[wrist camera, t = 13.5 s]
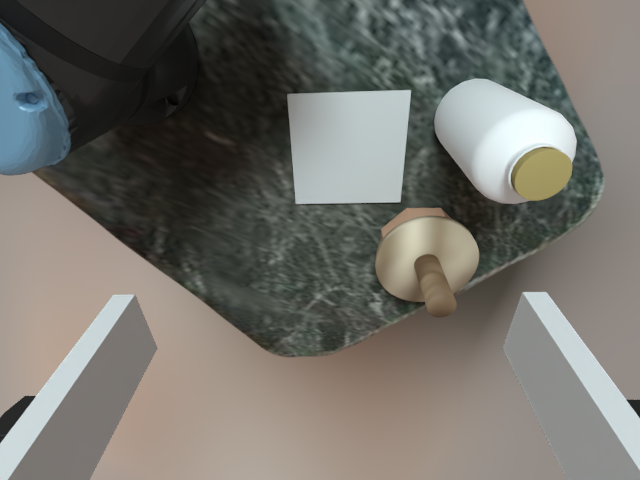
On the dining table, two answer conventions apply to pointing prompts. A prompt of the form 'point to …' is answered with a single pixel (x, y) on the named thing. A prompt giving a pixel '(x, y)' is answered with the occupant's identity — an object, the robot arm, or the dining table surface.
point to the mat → (348, 145)
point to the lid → (427, 261)
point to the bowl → (411, 217)
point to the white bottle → (505, 141)
